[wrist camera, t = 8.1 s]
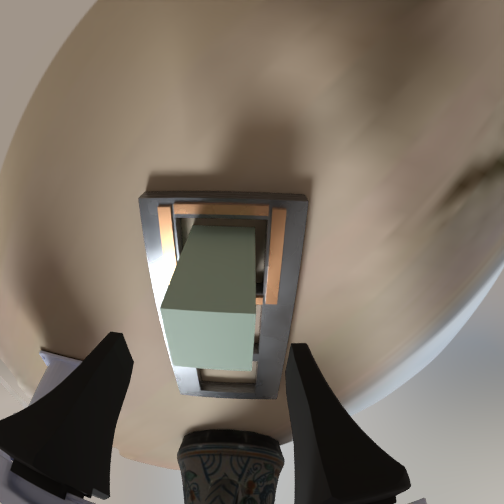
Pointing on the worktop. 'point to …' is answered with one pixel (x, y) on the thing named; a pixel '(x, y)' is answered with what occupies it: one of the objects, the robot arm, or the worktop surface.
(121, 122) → the worktop surface
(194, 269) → the peg
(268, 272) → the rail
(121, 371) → the robot arm
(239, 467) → the beer stein
